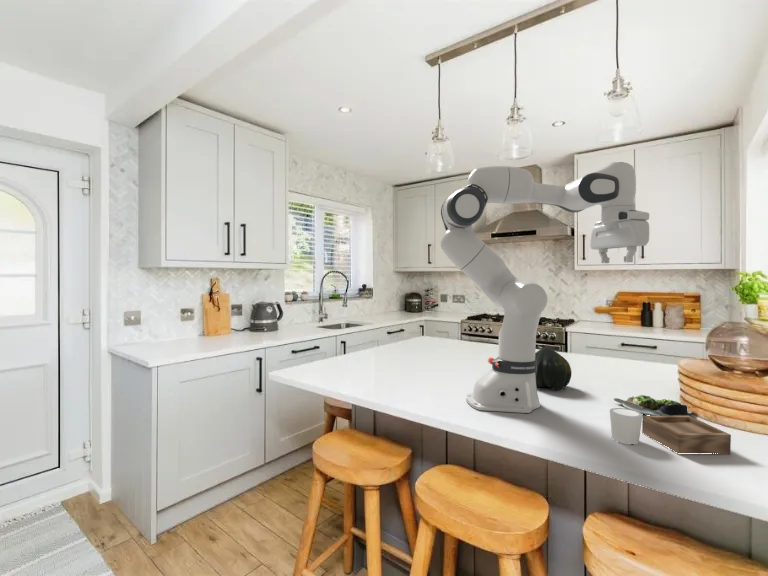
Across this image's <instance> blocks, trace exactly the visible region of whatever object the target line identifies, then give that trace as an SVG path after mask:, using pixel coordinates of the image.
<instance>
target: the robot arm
mask: <svg viewBox="0 0 768 576" xmlns="http://www.w3.org/2000/svg"><path fill="white" fill-rule="evenodd" d="M636 191H637V178H636V171H635V168H634V166H633V165H632V164H630V163H628V162H623V161H622V162H621V161H619V162H616V161H615V162H611V163H608V164H606V166H604V167H602V168H600V169H598V170H596V171H594V172H590V173H587V174H584V175H582V176H580V177H579V178H577V179H575V180H573V181H570V182H568V183H565V184H562V185H555V184H547V183H546V184H545V183H540V182H539V183H538V182H536V181H535V180H534V176H533V174H532V172H530V171H529V170H528V169H526V168H521V167H518V166H506V165H505V166H503V165H497V166H496V165H494V166H493V165H492V166H482V167H478V168H474V169H473V170H472V171H471V172H470V174H469V176H468V178H467V185H466V186H465V187H462V188H459V189H458V190H456V191H455V192H453V193H451V194H449V196H447V198H446V199H445V200H444V202H443V203H442V205H441V207H440V216H441V219H442V222H443V223H442V224H443V226H444V229H445V232H444V234H443V235H442V237H441V240H440V248H441V249H442V251H443V252H444V253H445V256H447V258H448V259H449V261H451V263H453V264H454V265H455V266H456V267H457V268H458V269H459V270H460V271H461V272H463V274H465V276H466V277H468V278H469V279H470V280H471V281H472V282H473V283H475V285H476V286H477V287H478V288H479V289H480V290H481V291H482V292H483V293H484V294H485V296H487V298H488V299H489V300H490V301H491V302H492V303H493V304H494V305H495V306H496V307H497V308H498V309H499V310H500V311H502V312H504V315H503V319H502V320H503V321H502V325H501V328H500V330H499V332H498V356H497V357H496V358H493V357H492V356H490V357H488V359H487V362H488V364H490V365H492V366H491V368H492V369H490V370H489V371H487V372H486V373H485V374H483V375H481V376H480V377H479V378H478V379H476V381H475V382H474V387H473V392H471V393H467V395H466V397H465V398H466V399H465V400H466V402H467V404H468V405H469V406H470V407H472V408H473V409H475V410H478V411H489V412H503V413H505V412H506V413H523V414H524V413H525V414H531V412H532V411H534V410H536V409H538V408H540V407H541V403H540V402H541V401H540V398H539V394H538V387H536V376H537V360H536V359H535V353H536V347H537V346H536V343H537V339H536V338H537V333H538V326H539V322H540V319H541V315H542V312H543V311H544V310H545V309H546V307H547V303H548V295H547V293H546V290H545V289H544V287H542V286H541V285H539V284H538V283H536V282H534V281H532V280H529V279H528V280H527V279H519V278H517V276H515V275H514V274H513V272H511V270H510V269H509V267H508V266H507V265H506V263H505V260H503V258H502V257H500V256H499V255H498V254H497V253H496V252H495V251H494V250H493V249H492V248H491V247H490V246H488V244H486V243H485V242H484V241H482V240H481V238H480V237H478V235H477V234H476V233H475V231H474V228H473V224H475V223H476V222H479V219H481V217H482V215H483V213H484V211H485V207H486V205H487V204H492V203H493V204H494V203H495V204H502V205H503V204H506V205H512V204H513V205H514V204H518V205H519V204H525V203H527V204H528V203H529V204H539V205H549V206H556V207H558V208H560V209H562V210H564V211H565V212H568V213H574V214H575V213H580V212H582V211H584V210H586V209H589V208H591V207H594V206H598V205H600V206H601V215H600V218H601V219H600V220H598V221H596V223H595V224H594V225H593V228H592V230H591V233H590V242H589V246H590V249H591V250H595V251H597V250H598V254H599V256H600V259H601V260H600V261H601V264H609V263H610V258H611V257H608V254H607V253H608V251H609V250H611V249H621V248H626V251H627V253H626V255H625V256H623V262H624V263H633V262H634V256H635V254H636V252H637V251H638V250H637V249H638V247H644V246H647V245H648V243H649V241H650V223H649V221H648V220H649V219H650V213H649V212H647V211H642V210H637V209H636V202H635V195H636Z"/></svg>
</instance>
